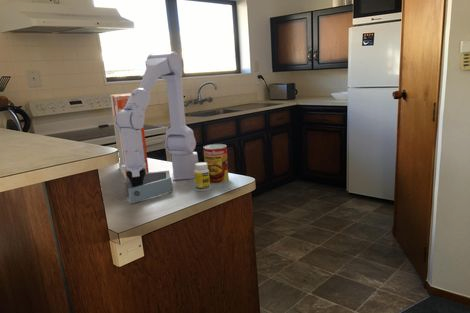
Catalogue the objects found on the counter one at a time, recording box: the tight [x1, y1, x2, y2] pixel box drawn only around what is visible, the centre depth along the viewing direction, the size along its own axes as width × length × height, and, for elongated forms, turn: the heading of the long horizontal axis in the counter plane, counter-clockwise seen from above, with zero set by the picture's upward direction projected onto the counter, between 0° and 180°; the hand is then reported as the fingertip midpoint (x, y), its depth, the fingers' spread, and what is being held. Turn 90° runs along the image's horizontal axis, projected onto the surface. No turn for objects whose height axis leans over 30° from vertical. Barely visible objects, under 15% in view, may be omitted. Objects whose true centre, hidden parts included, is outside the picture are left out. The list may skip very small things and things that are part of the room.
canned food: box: [203, 143, 229, 185], centre depth 129 cm, size 8×8×12 cm
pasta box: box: [109, 92, 150, 180], centre depth 144 cm, size 23×8×30 cm, turn 23°
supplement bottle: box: [194, 161, 211, 192], centre depth 120 cm, size 5×5×8 cm
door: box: [128, 176, 173, 205], centre depth 114 cm, size 14×2×4 cm, turn 132°
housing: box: [124, 170, 171, 197], centre depth 123 cm, size 14×10×4 cm
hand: (138, 193), depth 114 cm, fingers closed
